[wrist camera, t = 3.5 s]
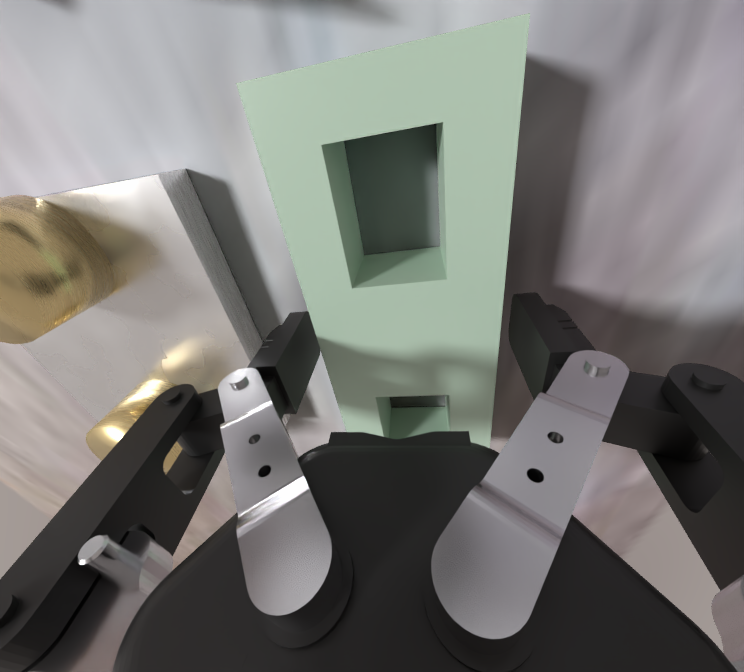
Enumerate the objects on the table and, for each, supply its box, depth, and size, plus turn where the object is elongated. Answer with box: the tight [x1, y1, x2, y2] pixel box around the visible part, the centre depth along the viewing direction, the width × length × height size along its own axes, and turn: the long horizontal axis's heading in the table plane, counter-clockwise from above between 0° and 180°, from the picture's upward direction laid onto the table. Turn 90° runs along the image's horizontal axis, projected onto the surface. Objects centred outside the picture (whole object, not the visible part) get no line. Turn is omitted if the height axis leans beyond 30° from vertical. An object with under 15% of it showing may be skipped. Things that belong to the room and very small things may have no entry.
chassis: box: [0, 169, 291, 474], centre depth 13 cm, size 13×12×8 cm
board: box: [236, 13, 530, 448], centre depth 12 cm, size 16×6×3 cm, turn 9°
